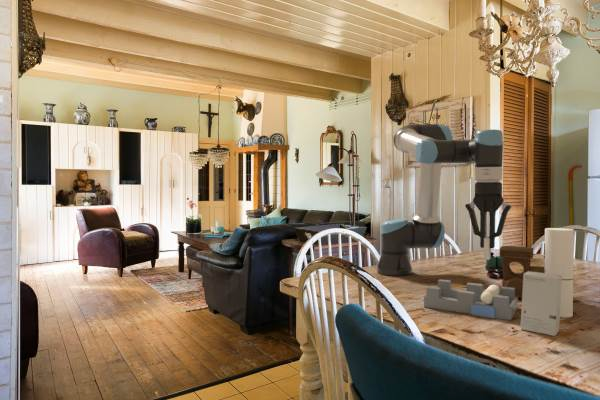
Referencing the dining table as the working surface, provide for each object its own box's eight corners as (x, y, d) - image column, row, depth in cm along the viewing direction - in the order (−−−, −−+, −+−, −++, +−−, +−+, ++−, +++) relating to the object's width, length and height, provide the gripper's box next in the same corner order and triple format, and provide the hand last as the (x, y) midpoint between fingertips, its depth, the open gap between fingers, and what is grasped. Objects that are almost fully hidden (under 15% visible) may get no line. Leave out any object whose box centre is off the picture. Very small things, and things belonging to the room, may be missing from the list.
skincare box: (520, 330, 109) (520, 273, 109) (525, 324, 114) (526, 270, 113) (557, 337, 104) (558, 277, 103) (561, 330, 108) (562, 273, 108)
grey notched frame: (423, 307, 130) (423, 287, 130) (437, 296, 143) (437, 279, 142) (510, 320, 116) (510, 299, 116) (517, 307, 129) (517, 288, 129)
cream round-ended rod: (477, 301, 121) (482, 291, 121) (487, 290, 133) (492, 281, 132) (489, 307, 120) (494, 297, 119) (497, 296, 132) (503, 287, 131)
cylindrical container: (568, 311, 125) (569, 228, 124) (576, 318, 118) (576, 230, 117) (541, 309, 127) (542, 227, 126) (547, 316, 120) (548, 230, 120)
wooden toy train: (498, 297, 142) (498, 248, 141) (502, 290, 151) (502, 244, 151) (568, 305, 131) (568, 253, 130) (567, 297, 141) (568, 248, 140)
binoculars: (492, 256, 166) (483, 250, 176) (491, 281, 168) (482, 274, 178) (515, 256, 166) (505, 250, 175) (514, 282, 167) (504, 274, 177)
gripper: (462, 181, 126) (461, 258, 128) (510, 181, 119) (508, 263, 120) (468, 181, 133) (467, 254, 134) (514, 181, 125) (512, 258, 126)
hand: (487, 258), depth 127 cm, fingers closed
